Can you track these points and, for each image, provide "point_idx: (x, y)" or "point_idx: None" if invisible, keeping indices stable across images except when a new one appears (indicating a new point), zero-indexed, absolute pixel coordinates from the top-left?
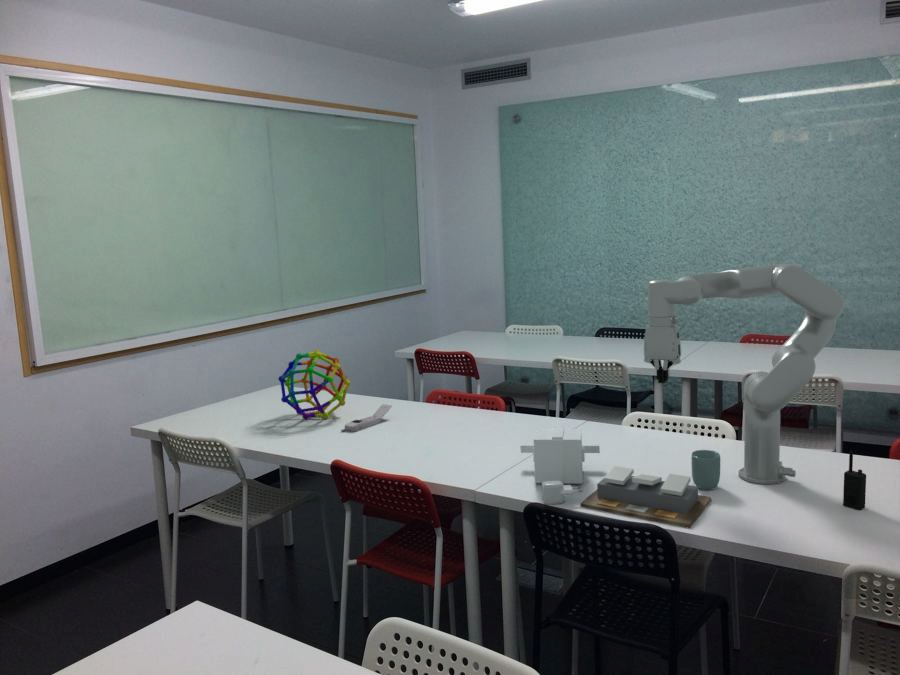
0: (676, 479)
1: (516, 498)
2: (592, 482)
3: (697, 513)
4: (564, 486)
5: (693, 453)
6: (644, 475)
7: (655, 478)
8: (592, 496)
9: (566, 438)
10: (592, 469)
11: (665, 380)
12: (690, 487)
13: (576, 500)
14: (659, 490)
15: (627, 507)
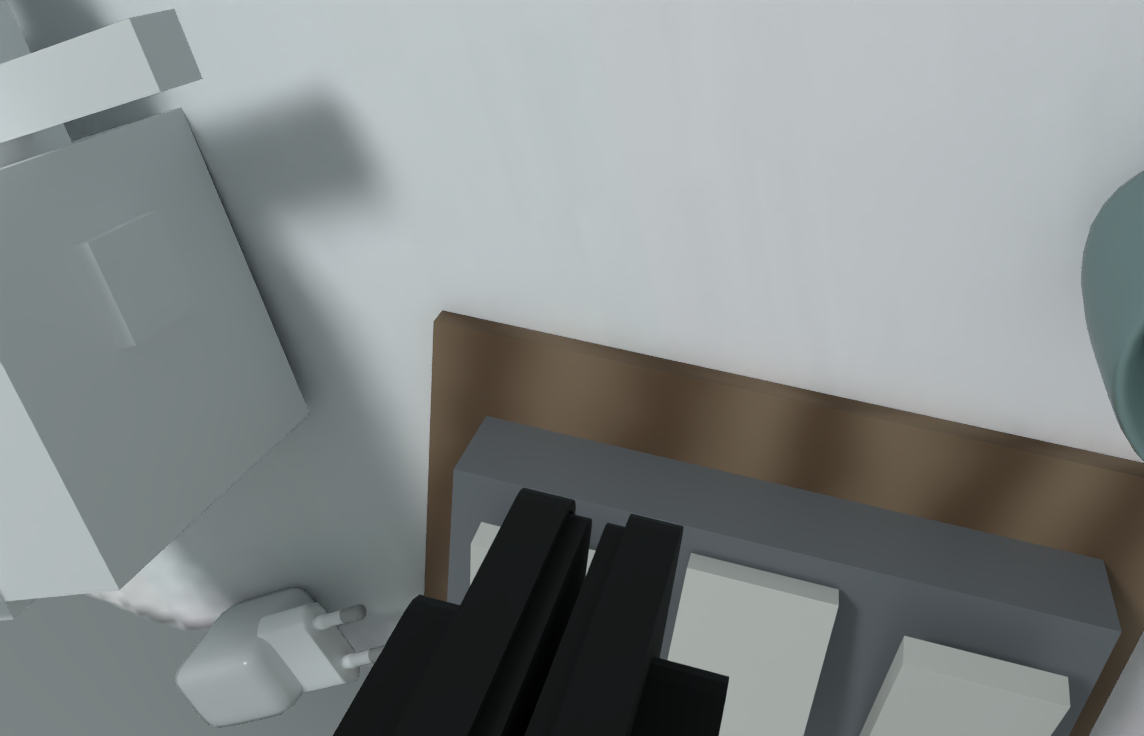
0: (958, 719)
1: (111, 598)
2: (344, 322)
3: (1086, 726)
4: (287, 654)
5: (1134, 353)
6: (710, 612)
7: (800, 683)
8: (444, 583)
9: (6, 562)
10: (233, 67)
11: (658, 645)
12: (1059, 649)
13: (377, 584)
14: (840, 707)
15: None
